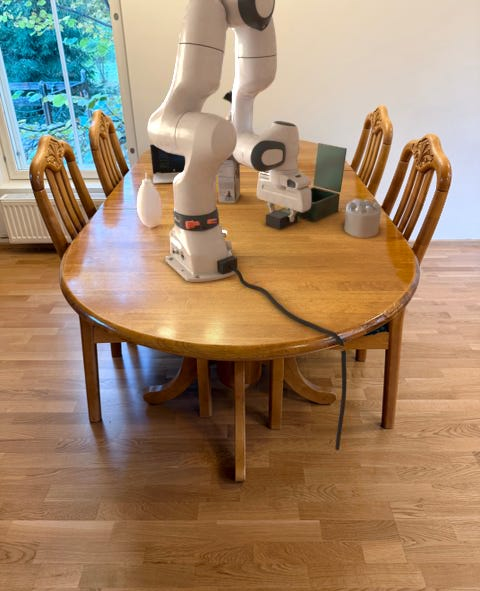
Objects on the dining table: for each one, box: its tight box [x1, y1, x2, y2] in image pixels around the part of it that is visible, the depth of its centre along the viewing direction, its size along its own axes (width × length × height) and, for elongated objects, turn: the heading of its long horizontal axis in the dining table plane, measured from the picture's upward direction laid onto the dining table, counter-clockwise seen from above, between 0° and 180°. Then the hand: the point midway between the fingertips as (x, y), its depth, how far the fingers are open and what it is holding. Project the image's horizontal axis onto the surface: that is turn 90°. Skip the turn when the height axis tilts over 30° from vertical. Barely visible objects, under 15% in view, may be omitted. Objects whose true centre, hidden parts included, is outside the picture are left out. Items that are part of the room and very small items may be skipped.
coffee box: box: [217, 157, 241, 204], centre depth 176 cm, size 9×6×16 cm
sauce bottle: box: [136, 171, 163, 229], centre depth 153 cm, size 8×8×18 cm
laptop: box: [149, 143, 185, 185], centre depth 199 cm, size 18×12×13 cm
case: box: [287, 186, 341, 223], centre depth 165 cm, size 14×11×6 cm
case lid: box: [312, 142, 348, 194], centre depth 166 cm, size 14×11×5 cm
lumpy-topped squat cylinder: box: [343, 198, 382, 239], centre depth 151 cm, size 10×13×9 cm
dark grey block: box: [265, 207, 299, 231], centre depth 158 cm, size 9×6×4 cm, turn 135°
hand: (282, 218), depth 158 cm, fingers closed on dark grey block, 6 cm apart
